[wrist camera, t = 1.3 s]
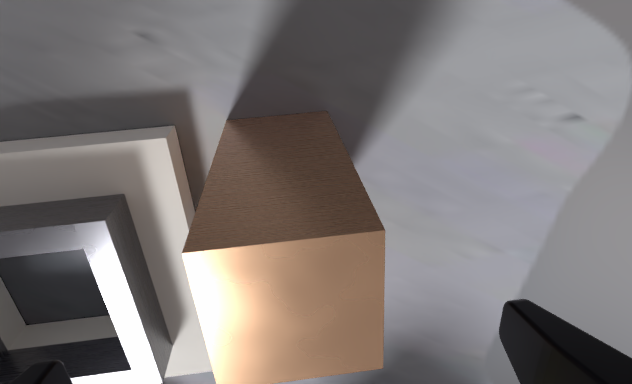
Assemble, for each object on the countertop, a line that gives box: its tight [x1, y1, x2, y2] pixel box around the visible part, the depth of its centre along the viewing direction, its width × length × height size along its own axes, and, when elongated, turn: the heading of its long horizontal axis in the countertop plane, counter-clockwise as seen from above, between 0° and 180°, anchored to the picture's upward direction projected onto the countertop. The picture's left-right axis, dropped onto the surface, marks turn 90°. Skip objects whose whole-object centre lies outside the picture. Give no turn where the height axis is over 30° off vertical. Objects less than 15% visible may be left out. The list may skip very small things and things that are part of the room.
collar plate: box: [0, 125, 213, 384], centre depth 16 cm, size 12×12×4 cm
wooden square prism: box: [182, 111, 385, 384], centre depth 13 cm, size 4×4×9 cm
